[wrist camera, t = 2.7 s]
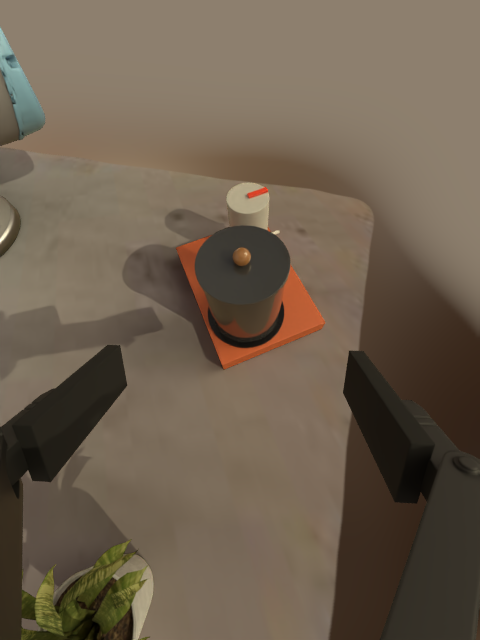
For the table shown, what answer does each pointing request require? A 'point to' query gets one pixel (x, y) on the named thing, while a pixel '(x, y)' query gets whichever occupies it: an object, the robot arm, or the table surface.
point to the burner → (247, 344)
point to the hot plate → (296, 301)
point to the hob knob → (248, 205)
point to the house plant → (93, 601)
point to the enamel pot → (243, 280)
